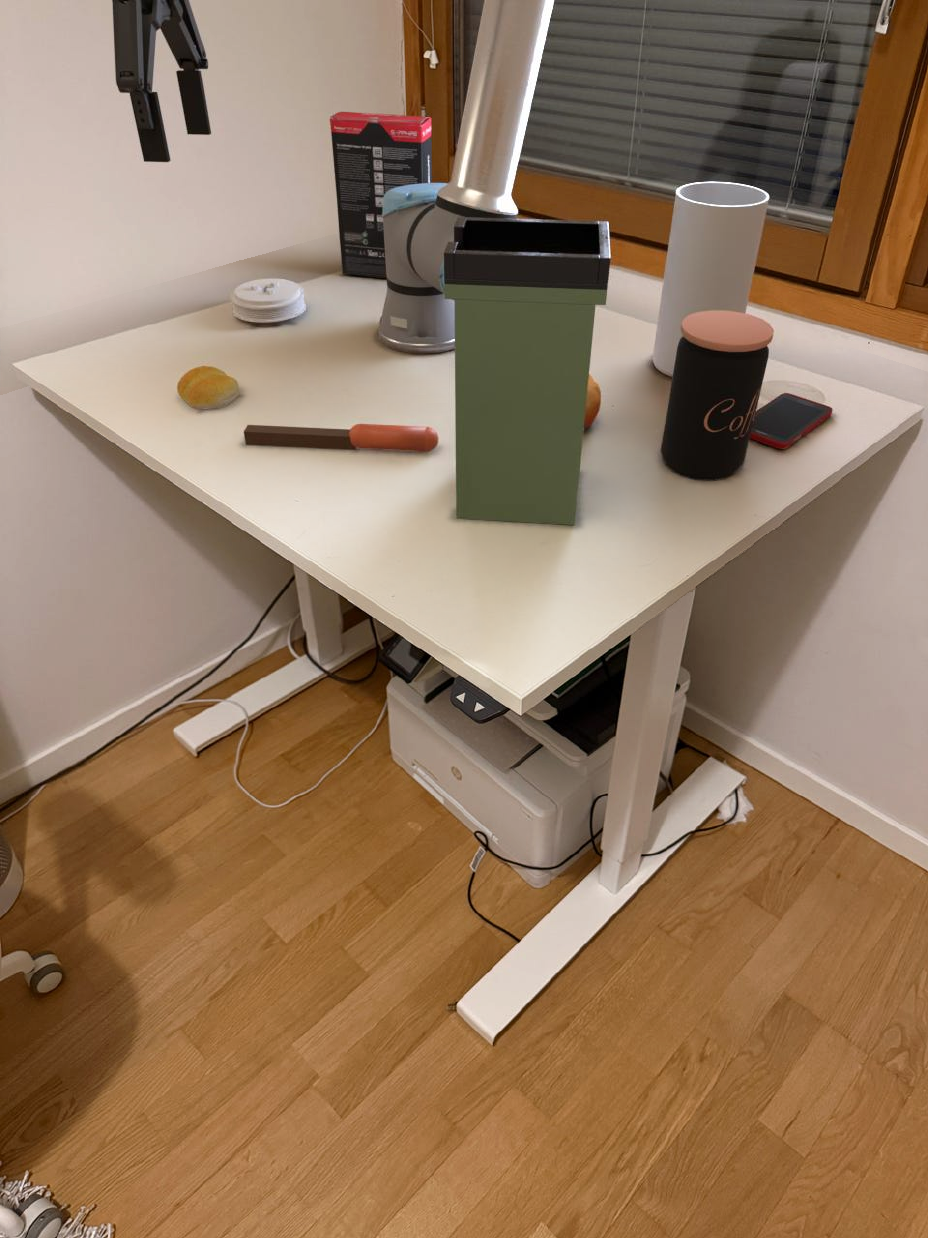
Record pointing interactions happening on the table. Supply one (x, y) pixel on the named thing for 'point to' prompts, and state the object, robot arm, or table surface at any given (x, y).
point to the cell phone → (787, 420)
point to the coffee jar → (714, 393)
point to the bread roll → (207, 388)
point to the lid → (268, 300)
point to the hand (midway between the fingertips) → (179, 147)
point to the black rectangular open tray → (528, 253)
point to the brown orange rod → (345, 437)
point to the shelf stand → (520, 399)
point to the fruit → (592, 402)
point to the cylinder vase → (708, 257)
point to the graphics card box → (374, 179)
